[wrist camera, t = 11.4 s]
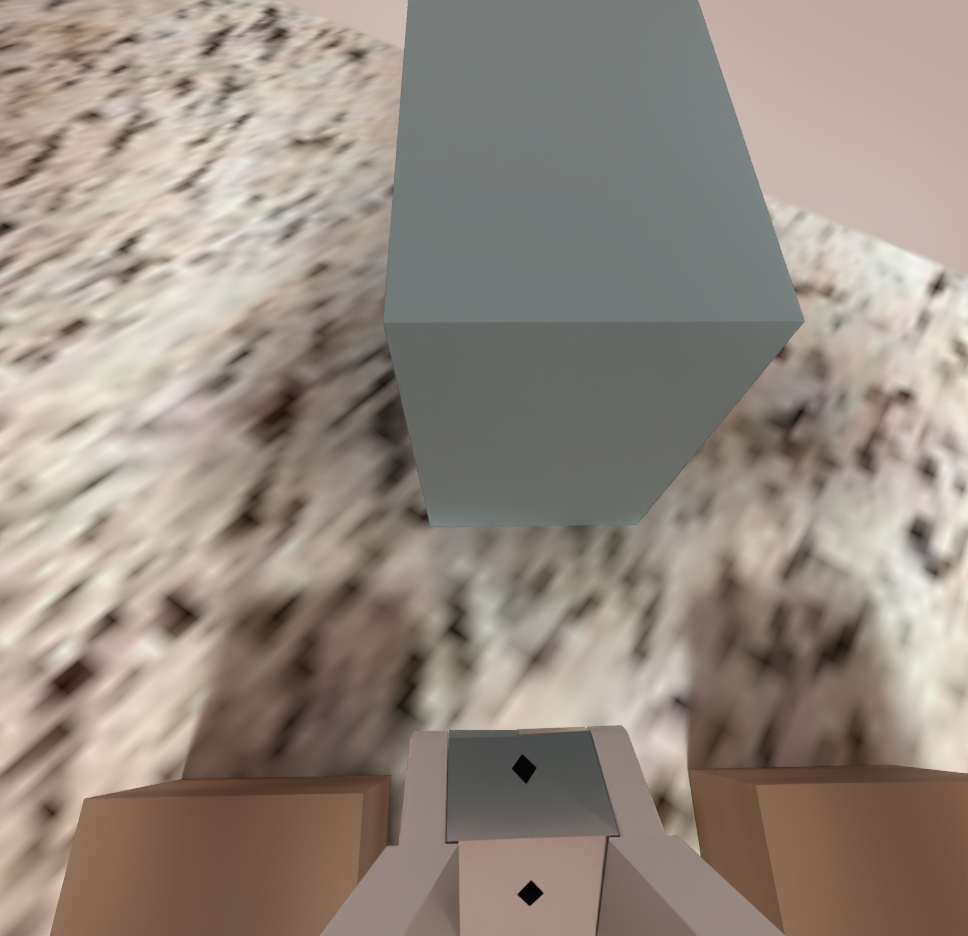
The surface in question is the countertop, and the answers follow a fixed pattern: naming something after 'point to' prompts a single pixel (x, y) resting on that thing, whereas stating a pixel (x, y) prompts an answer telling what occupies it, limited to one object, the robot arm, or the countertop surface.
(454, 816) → the robot arm
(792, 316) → the teal block
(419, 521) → the countertop surface
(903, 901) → the parallel wooden rails
